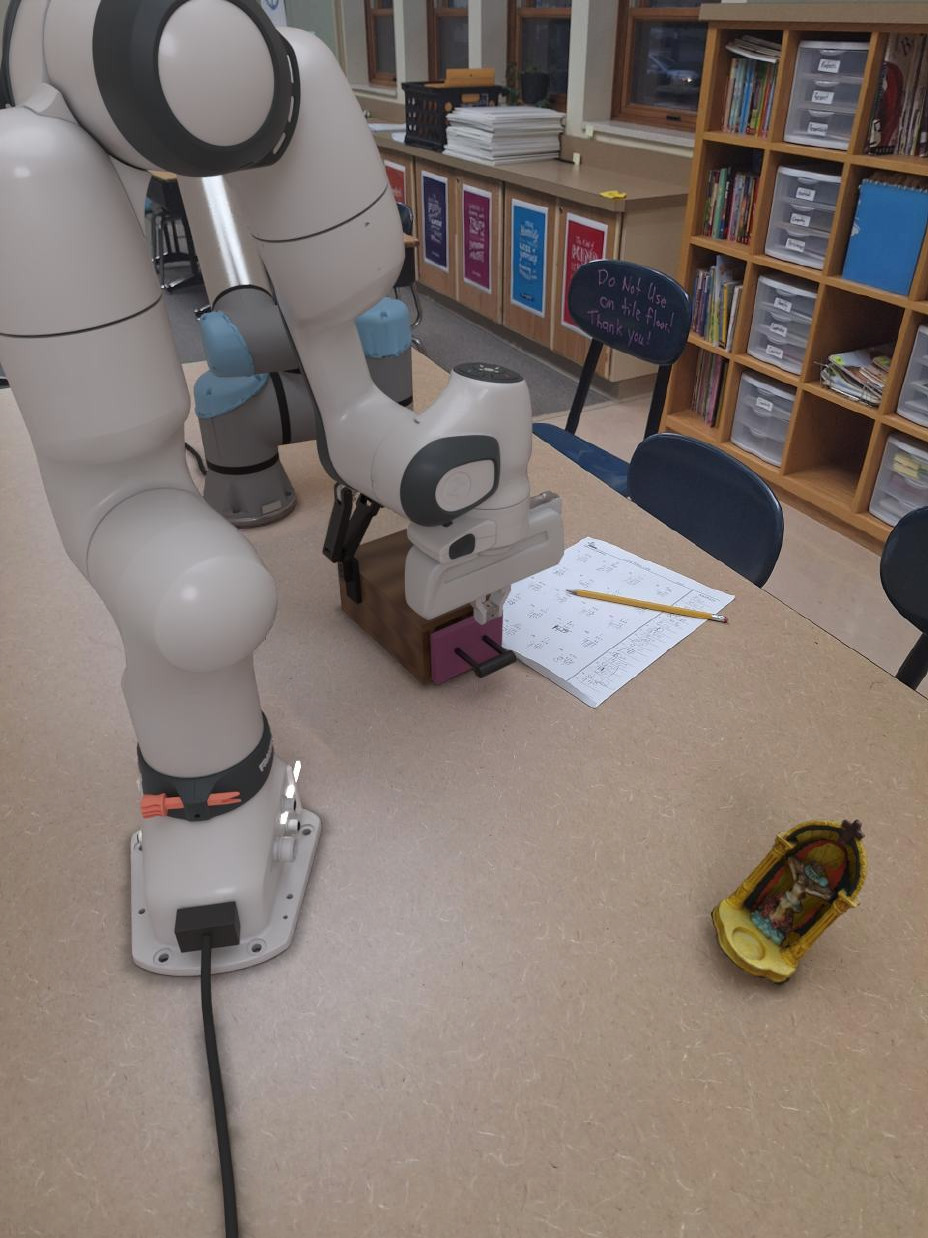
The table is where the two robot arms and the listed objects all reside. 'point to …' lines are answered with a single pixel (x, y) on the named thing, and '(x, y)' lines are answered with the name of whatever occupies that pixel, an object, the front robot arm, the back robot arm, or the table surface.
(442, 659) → the drawer
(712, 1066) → the table surface
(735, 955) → the shrine
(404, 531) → the cabinet
